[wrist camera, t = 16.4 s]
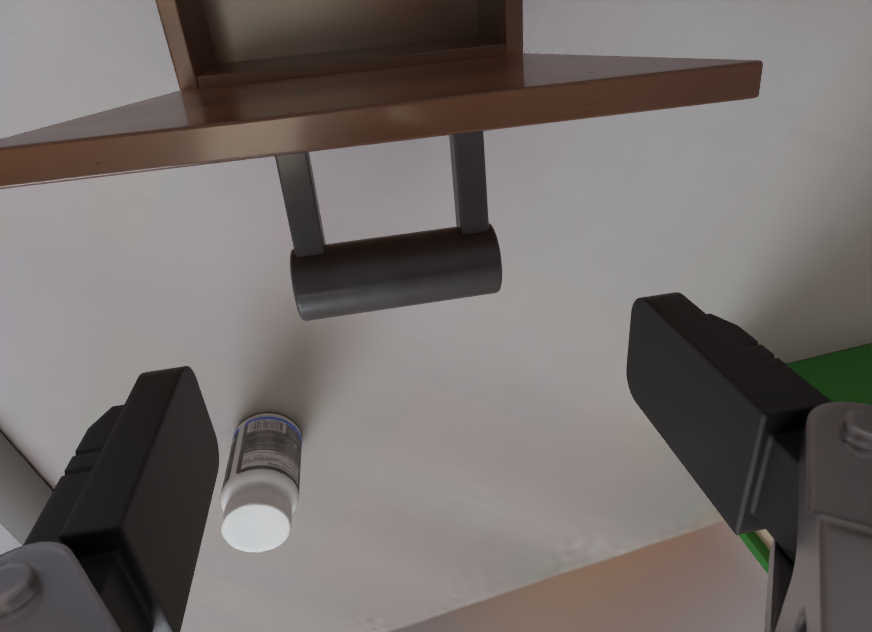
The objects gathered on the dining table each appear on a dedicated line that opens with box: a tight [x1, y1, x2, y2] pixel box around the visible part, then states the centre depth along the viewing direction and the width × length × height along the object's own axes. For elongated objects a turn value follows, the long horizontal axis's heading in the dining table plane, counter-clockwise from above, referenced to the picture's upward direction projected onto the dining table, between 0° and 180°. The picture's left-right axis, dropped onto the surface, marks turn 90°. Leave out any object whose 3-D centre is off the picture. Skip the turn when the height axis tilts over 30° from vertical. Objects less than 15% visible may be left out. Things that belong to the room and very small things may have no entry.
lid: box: [0, 53, 763, 321], centre depth 19 cm, size 16×15×5 cm
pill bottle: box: [221, 413, 302, 552], centre depth 39 cm, size 5×5×8 cm
